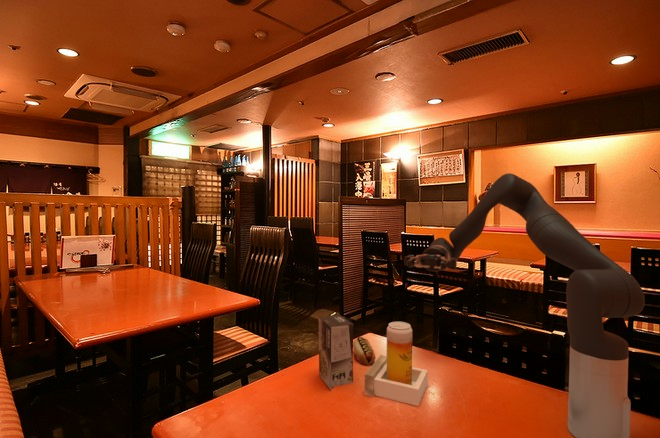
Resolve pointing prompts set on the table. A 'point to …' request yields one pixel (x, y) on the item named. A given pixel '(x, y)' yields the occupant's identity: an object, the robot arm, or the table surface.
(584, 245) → the robot arm
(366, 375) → the backstop board
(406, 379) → the beer can
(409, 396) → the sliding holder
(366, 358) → the hot dog
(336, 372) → the coffee box
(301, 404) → the table surface
